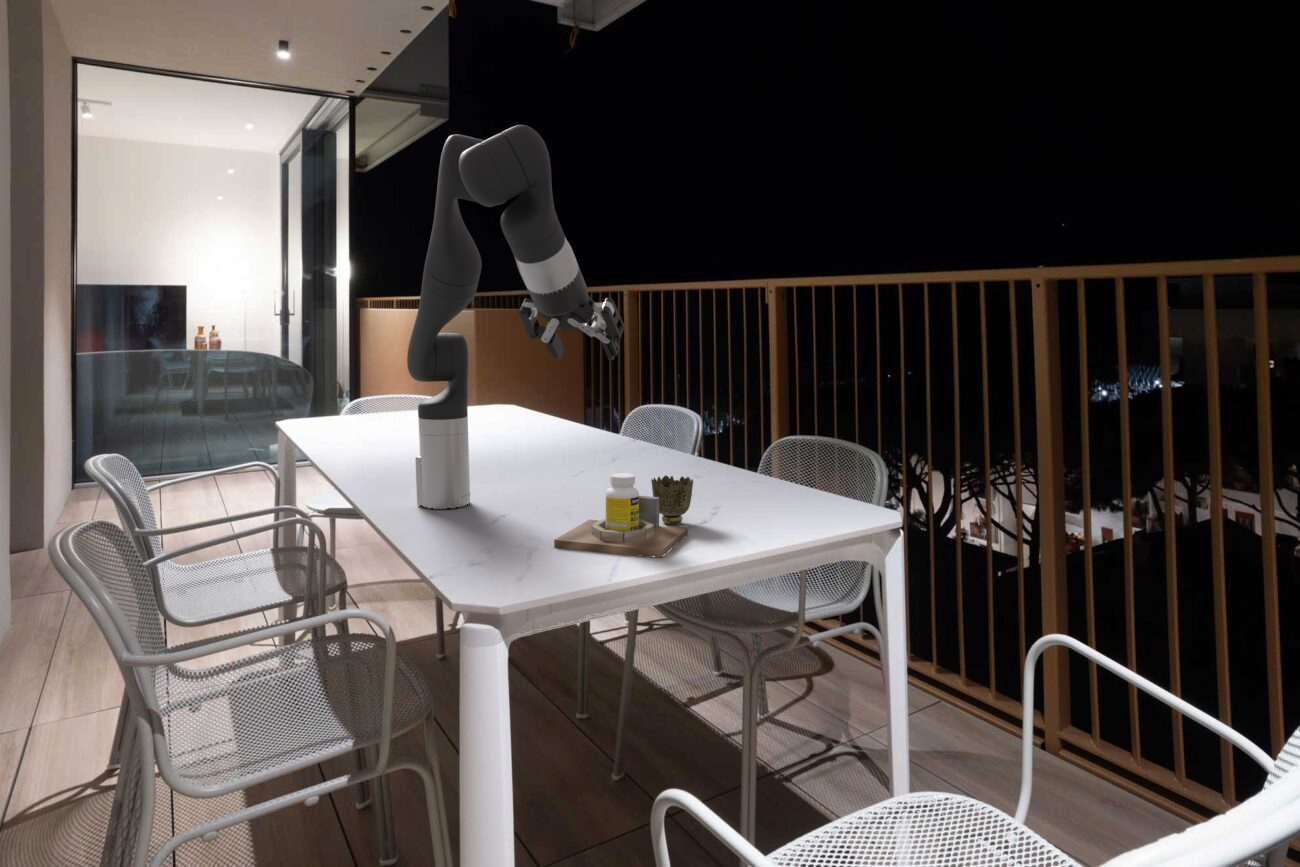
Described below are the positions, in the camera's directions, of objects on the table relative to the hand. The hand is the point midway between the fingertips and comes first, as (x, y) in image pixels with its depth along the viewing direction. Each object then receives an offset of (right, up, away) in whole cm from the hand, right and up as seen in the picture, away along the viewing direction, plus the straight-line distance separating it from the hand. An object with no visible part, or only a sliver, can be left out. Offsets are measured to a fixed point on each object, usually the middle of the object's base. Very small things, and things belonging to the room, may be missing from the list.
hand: (586, 355), depth 121 cm
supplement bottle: (+5, -28, +12) cm, 31 cm away
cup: (+13, -28, +24) cm, 39 cm away
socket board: (+5, -29, +13) cm, 32 cm away
